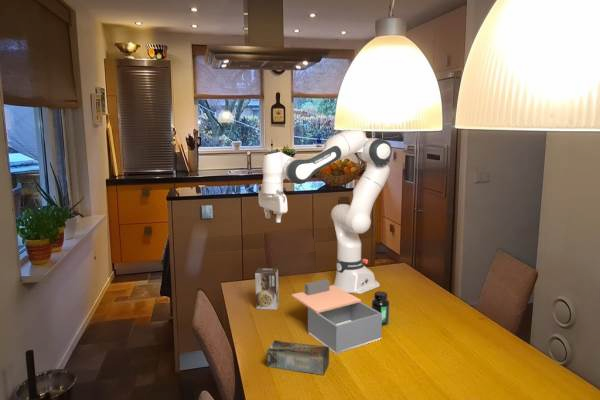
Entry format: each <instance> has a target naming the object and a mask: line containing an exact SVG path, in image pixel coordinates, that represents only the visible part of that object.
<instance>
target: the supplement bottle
mask: <svg viewBox="0 0 600 400" xmlns="http://www.w3.org/2000/svg"><path fill="white" fill-rule="evenodd" d="M373 297H374V298H372V300H371V308H373V309H374V310H376V311H378V312H380V313H382V327H384V326H383V325H385V326H387V325H389V322H390V301H389V300H388V292H386V291H382V290H381V291H379V290H378V291H375V292H374V296H373Z"/></svg>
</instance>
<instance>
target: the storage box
mask: <svg viewBox="0 0 600 400" xmlns="http://www.w3.org/2000/svg"><path fill="white" fill-rule="evenodd" d="M382 327H383V326H382V313H380V312H378V311H376V310H374V309H373V308H372V306H371V307H370V306H369V305H367V304H366V303H363V302H362V301H361V302H358V303H355V304H351V305H347V306H343V307H339V308H335V309H332V310H328V311H324V312H320V313H316V312H314V311H313V310H311V309H310V308H308V307H307V334H308V335H310V336H311V337H312V338H314V339H315V340H317V341H318V342H319V343H320V344H322V346H325V347H329V351H331V352H332V353H333V354H335V355H338V354H342V353H344V352H347V351H350V350H354V349H357V348H359V347H360V348H361V347H362V346H366V344H367V345H369V344H368V343H370V344H372V343H371V342H373V343H375V342H374V341H376V342H378V341H377V340H379V341H381V340H382V329H383V328H382ZM380 339H381V340H380Z"/></svg>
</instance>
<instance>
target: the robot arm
mask: <svg viewBox="0 0 600 400" xmlns="http://www.w3.org/2000/svg"><path fill="white" fill-rule="evenodd" d="M392 148H393V147H392V145H391V143H390V142H389V141H387V140H386V139H384V138H383V139H382V138H377V137H376V138H375V137H370V138H369V137H367V135H366V133H365V132H364V130H362V131H346V130H343V131H341V132H338V133H337V134H334V135H333V136H330V138H328V139H327V140H326V141H325V143H324V149H323V150H322V151H320V152H318V153H317V154H315V155H313V156H311V157H310V158H306V159H299V158H296V157H292V156H290V155H288V154H286V153H284V152H282V150H278V149H277V150H270V151H266V152H265V153H264V154H263V157H262V166H261V167H262V169H261V170H262V171H261V172H262V176H263V177H262V180H261V181H262V183H261V184H259V185H258V186H257V191H258V204H259V207H260V208H263V212H264V214H265V215H264V216H265V218H266V219H271V213H270V212H274V213H276V214H275V215H276V217H275V223H277V224H278V223H281V222H282V221H281V220H282V216H283V215H284V214H287V213H288V211H289V210H288V199H287V196H286V194H285V192H284V180H289V181H291V182H292V183H294V184H296V185H303V184H305V183H307V182H308V181H309V180H310V179H311V178H312V177H313V176H314V175H315V174H316V173H317V172H319V171H321V170H323V169H324V168H326V167H328V166H330V165H331V164H333V163H336V162H337V161H340V160H342V159H345V158H347V157H349V156H351V155H353V154H354V156H355V157H356V158H357V159H358V160H360V161H362V162H366V168H365V170H364V172H363V173H362V175H361V176H360V178H359V180H358V181H357V183H356V185H355V186H354V188H353V190H352V194H353V195H352V200H351V203H350V204H348V203H346V204H345V203H340V204H336V205H335V206H333V208H332V209H331V213H330V217H331V220H332V222H333V225H334V229H335V234H336V239H337V241H336V244H337V247H336V248H337V257H336V263H335V266H336V268H335V269H336V273H335V278H334V279H335V280H334V282H333V285H334V286H336V287H338V288H340V289H342V290H344V291H345V292H347V293H349V294H358V295H359V294H360V295H362V294H364V293H366V292H369V291H371V290H374V289H376V288H379V287H380V286H381V285H380V283H379V281H377V280H376V278H375V273H374V272H373V270H371V269H369V268H368V267H366V266H365V264H366V265H367V264H368V263H369V260H368V259H366V258H363V257H362V241H361V238H360V237H359V236H360V235H359V234H364V233H366V232H367V231H368V230H369V229H370V227H371V224H372V220H371V213H372V210H373V207H374V203H376V202H375V201H376V200H377V198H378V197H379V194H380V193H381V191H382V190H383V188H384V186H385V184H386V182H387V181H388V180H387V179H388V177H389V175H390V172H391V169H390V166H389V163H390V159H391V156H392V152H393V151H392V150H393V149H392Z"/></svg>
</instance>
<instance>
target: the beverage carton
mask: <svg viewBox="0 0 600 400" xmlns="http://www.w3.org/2000/svg"><path fill="white" fill-rule="evenodd" d="M266 363H267V368H271V369H279V370H286V371H293V372H298V373H299V372H301V373H308V374H314V375H321V376H324V375H325V373H326V371H327V369H328V366H329V365H330V349H329V347H326V346H324V345H314V344H306V343H299V342H298V343H297V342H291V341H289V342H288V341H282V340H275V339H274V340H273V342H272V343H271V344H270V346H269V348H268V349H267V350H266Z"/></svg>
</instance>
